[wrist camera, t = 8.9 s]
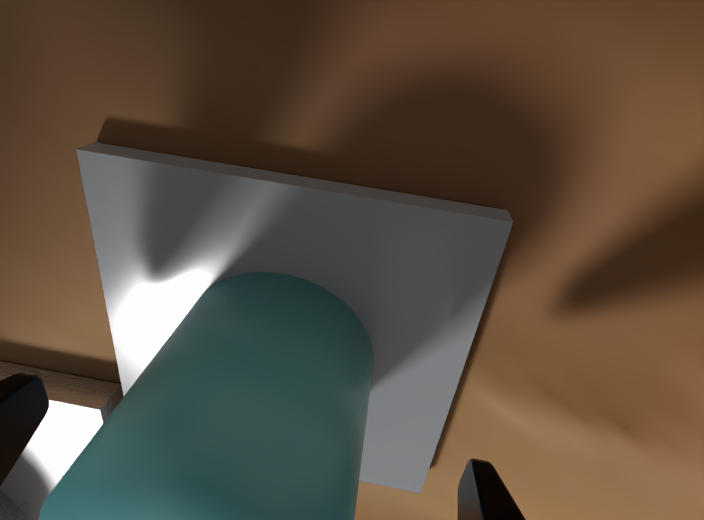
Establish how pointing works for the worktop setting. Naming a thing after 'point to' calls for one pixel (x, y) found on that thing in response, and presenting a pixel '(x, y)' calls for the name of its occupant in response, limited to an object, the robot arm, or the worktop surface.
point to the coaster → (301, 274)
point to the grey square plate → (54, 437)
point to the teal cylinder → (235, 415)
